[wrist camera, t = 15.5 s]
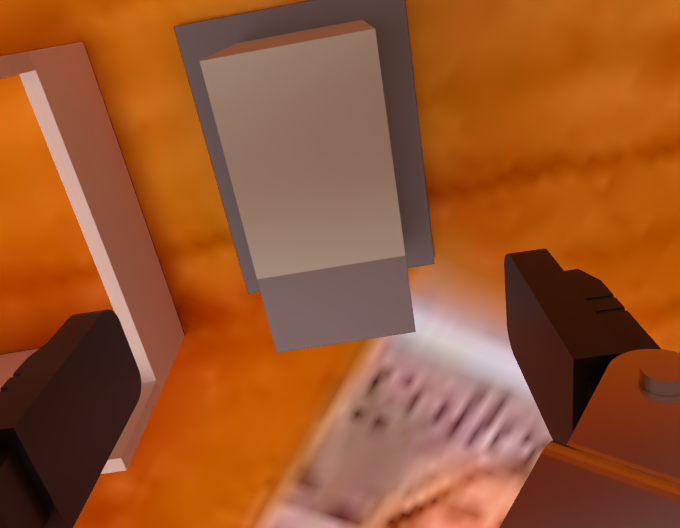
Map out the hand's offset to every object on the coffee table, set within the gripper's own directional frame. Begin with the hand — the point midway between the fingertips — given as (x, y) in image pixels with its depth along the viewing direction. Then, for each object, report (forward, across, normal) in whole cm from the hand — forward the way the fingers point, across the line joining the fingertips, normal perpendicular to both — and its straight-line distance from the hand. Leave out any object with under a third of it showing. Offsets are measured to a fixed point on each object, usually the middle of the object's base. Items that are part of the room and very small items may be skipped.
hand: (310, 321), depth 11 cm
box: (+14, 0, 0) cm, 14 cm away
